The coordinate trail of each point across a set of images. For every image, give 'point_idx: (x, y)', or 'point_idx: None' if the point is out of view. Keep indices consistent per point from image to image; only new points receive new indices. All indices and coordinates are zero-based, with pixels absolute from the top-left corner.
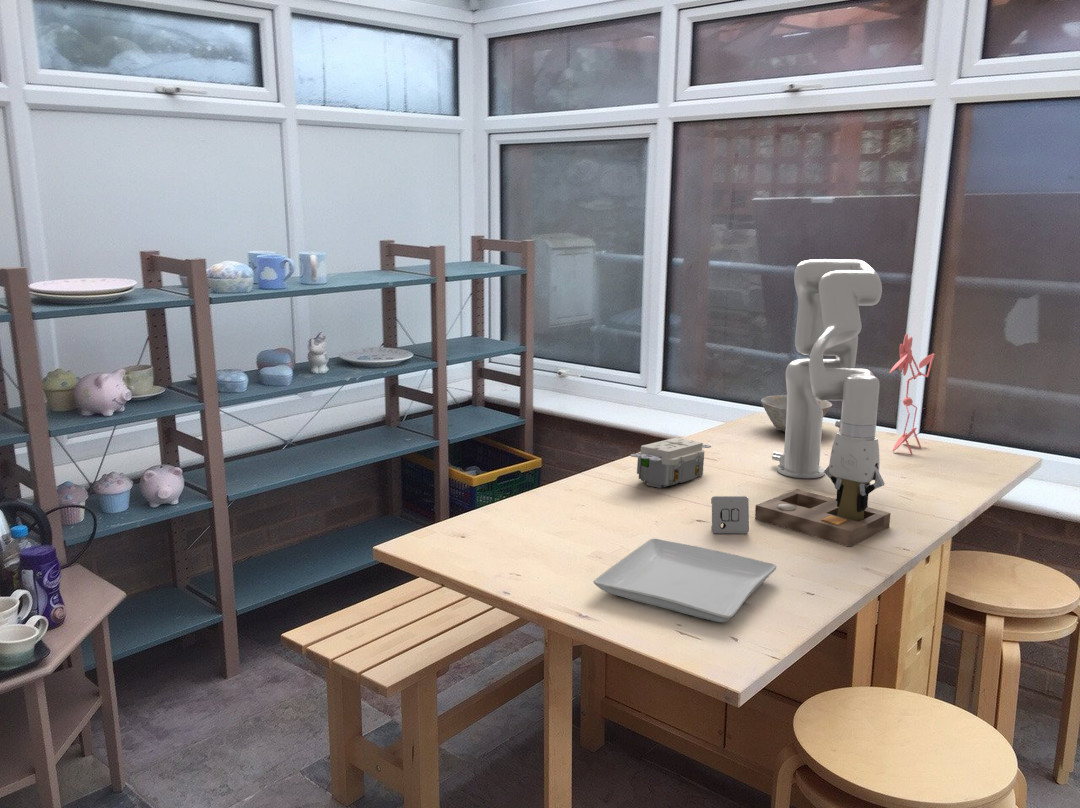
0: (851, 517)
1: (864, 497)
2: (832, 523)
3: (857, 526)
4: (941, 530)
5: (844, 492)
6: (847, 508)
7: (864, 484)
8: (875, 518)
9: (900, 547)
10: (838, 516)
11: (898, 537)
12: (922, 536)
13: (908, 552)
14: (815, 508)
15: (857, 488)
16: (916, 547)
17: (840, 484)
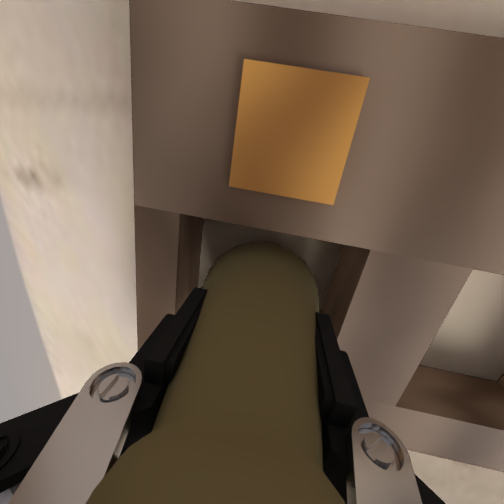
0: (234, 258)
1: (132, 362)
2: (284, 65)
3: (151, 129)
4: (64, 384)
5: (288, 377)
6: (253, 281)
7: (10, 499)
8: (146, 301)
9: (50, 186)
10: (293, 233)
11: (105, 278)
12: (67, 322)
13: (5, 151)
14: (440, 288)
15: (152, 433)
16: (22, 220)
17: (357, 481)
